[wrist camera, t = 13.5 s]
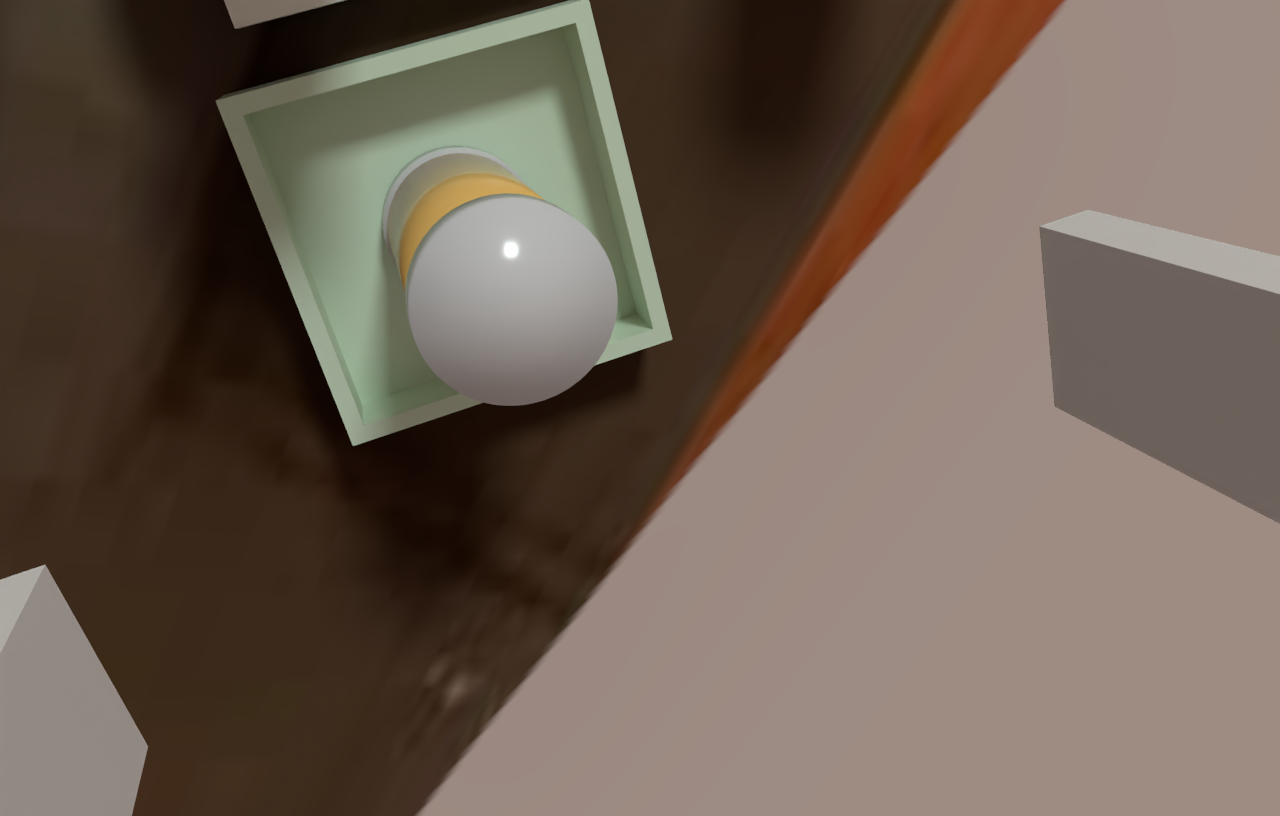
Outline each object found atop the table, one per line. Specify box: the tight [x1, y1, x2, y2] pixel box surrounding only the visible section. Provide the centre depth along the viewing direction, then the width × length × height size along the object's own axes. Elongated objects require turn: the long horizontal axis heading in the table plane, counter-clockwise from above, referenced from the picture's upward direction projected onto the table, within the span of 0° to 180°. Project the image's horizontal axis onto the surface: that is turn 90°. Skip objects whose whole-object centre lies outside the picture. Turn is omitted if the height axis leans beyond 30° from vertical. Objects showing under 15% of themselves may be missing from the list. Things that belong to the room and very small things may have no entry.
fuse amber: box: [382, 145, 618, 406], centre depth 26 cm, size 4×4×10 cm
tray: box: [216, 0, 672, 446], centre depth 30 cm, size 10×10×2 cm
